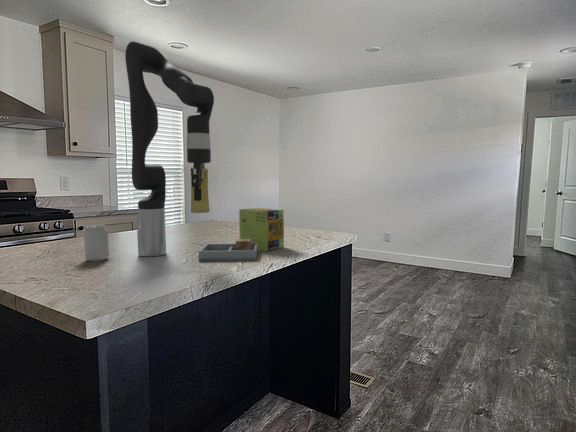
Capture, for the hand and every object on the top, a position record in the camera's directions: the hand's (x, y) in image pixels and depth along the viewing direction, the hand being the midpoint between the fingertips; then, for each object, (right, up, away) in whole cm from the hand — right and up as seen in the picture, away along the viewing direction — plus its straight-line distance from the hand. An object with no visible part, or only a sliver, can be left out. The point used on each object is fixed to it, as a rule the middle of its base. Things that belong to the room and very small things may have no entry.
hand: (199, 199), depth 128 cm
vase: (0, -4, 0) cm, 4 cm away
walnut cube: (+13, -19, +13) cm, 26 cm away
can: (-38, -21, +9) cm, 44 cm away
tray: (+8, -20, +13) cm, 25 cm away
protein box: (+18, -18, +30) cm, 40 cm away
